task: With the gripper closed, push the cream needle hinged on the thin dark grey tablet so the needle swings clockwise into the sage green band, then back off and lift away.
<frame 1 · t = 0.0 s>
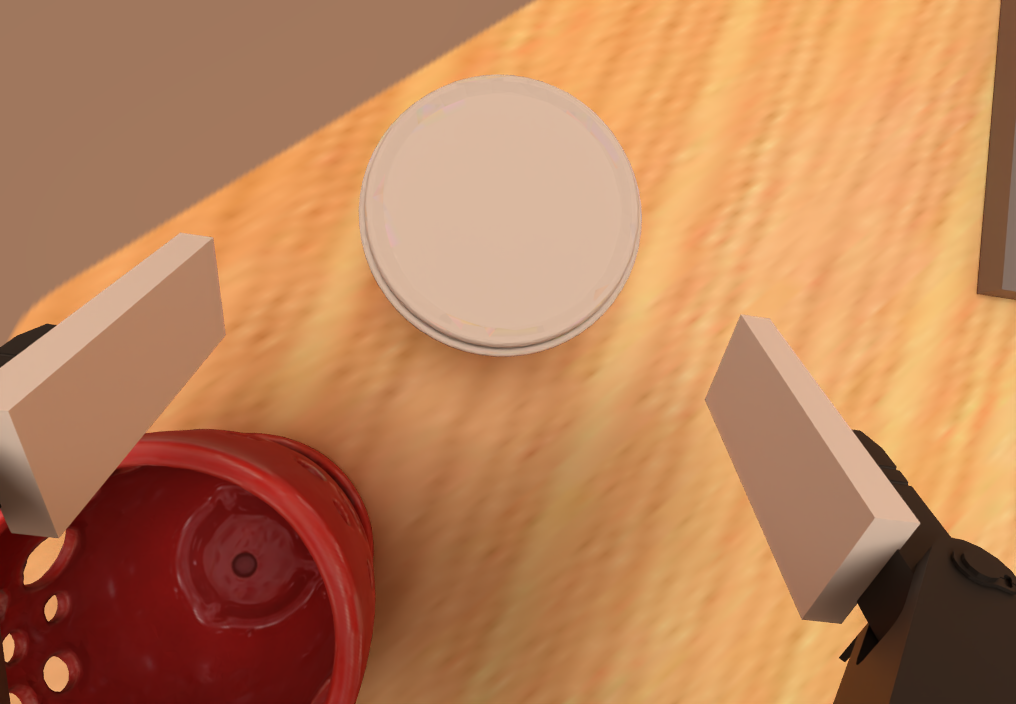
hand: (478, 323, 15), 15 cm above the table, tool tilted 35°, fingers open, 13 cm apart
coffee cup: (488, 277, 31), on the table
plant pot: (269, 546, 29), on the table
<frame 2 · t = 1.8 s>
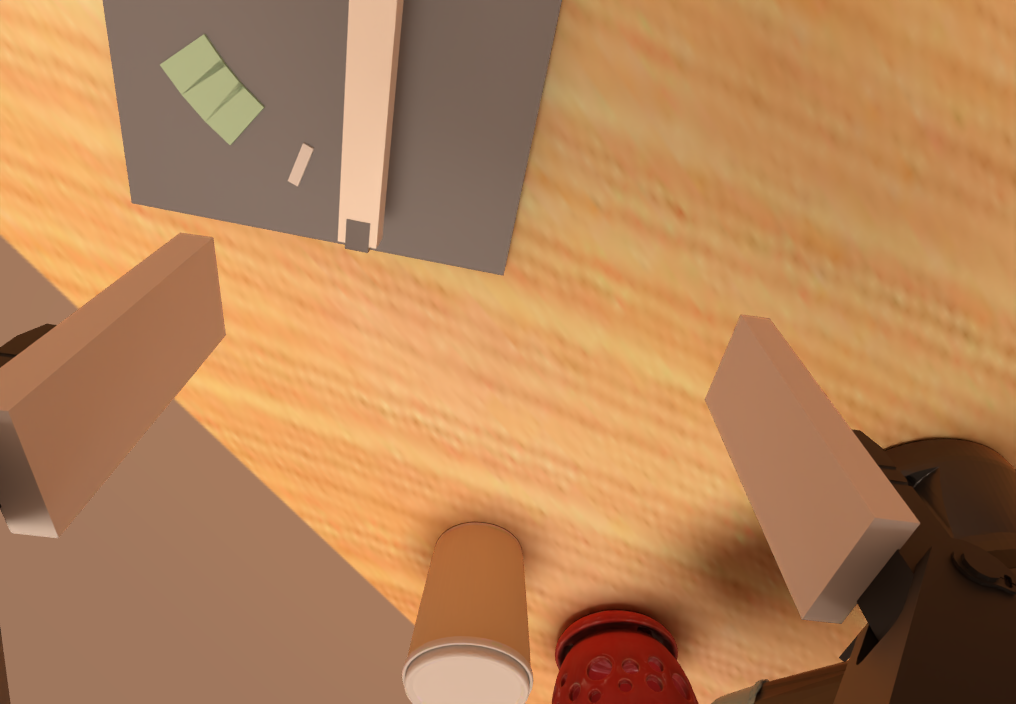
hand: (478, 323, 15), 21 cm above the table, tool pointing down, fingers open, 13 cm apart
coffee cup: (478, 550, 51), on the table
thin dark grey tablet: (335, 74, 31), on the table
tuner needle: (371, 85, 27), point 5 cm above the table, hinge at 0.0°
plant pot: (613, 634, 57), on the table
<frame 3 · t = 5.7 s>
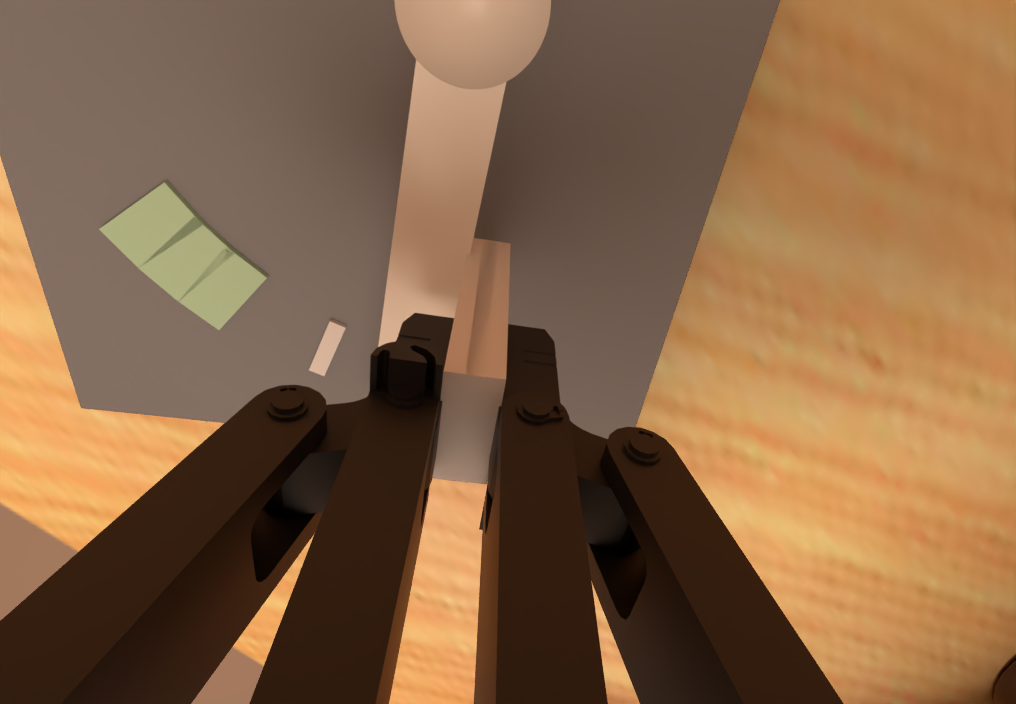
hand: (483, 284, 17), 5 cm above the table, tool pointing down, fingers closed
thin dark grey tablet: (373, 214, 20), on the table
tuner needle: (429, 265, 16), point 5 cm above the table, hinge at 5.0°, touching gripper
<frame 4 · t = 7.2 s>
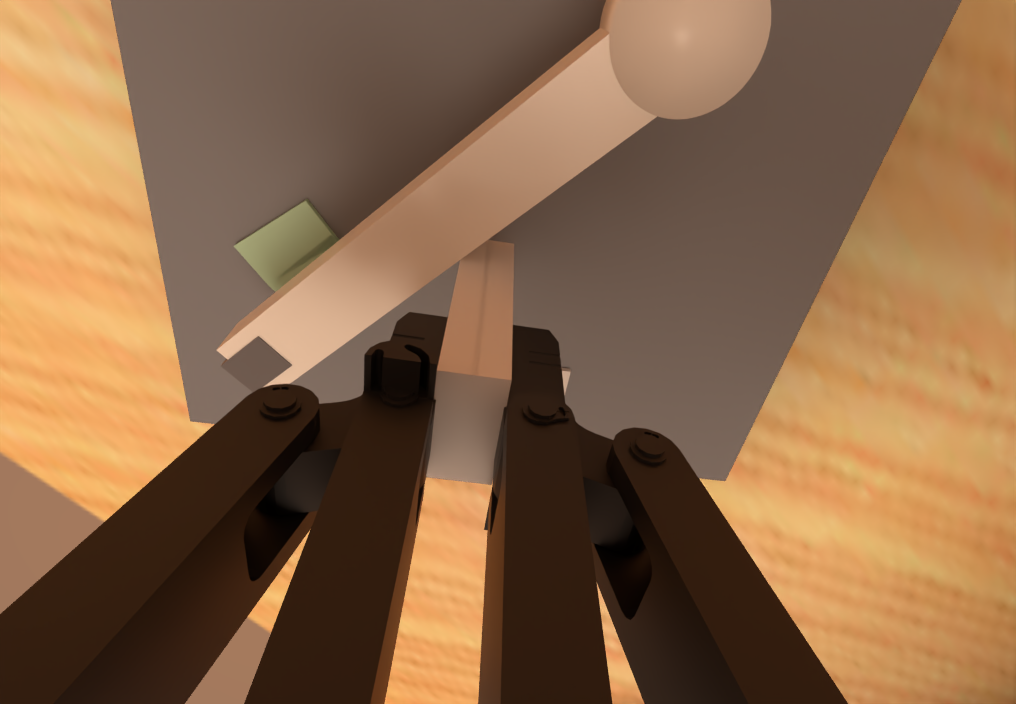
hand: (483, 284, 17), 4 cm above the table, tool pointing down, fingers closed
thin dark grey tablet: (498, 232, 20), on the table
tuner needle: (453, 206, 15), point 5 cm above the table, hinge at 44.2°, touching gripper
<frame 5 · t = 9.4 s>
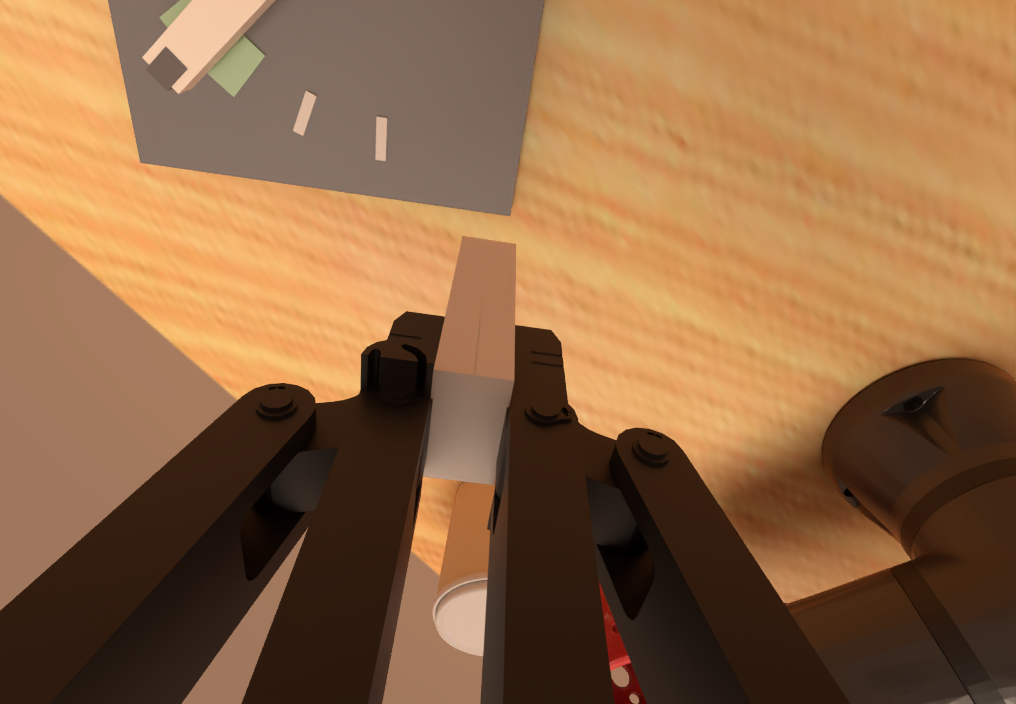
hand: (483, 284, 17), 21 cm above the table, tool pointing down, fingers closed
coffee cup: (498, 497, 53), on the table
thin dark grey tablet: (333, 18, 31), on the table
plant pot: (632, 573, 59), on the table
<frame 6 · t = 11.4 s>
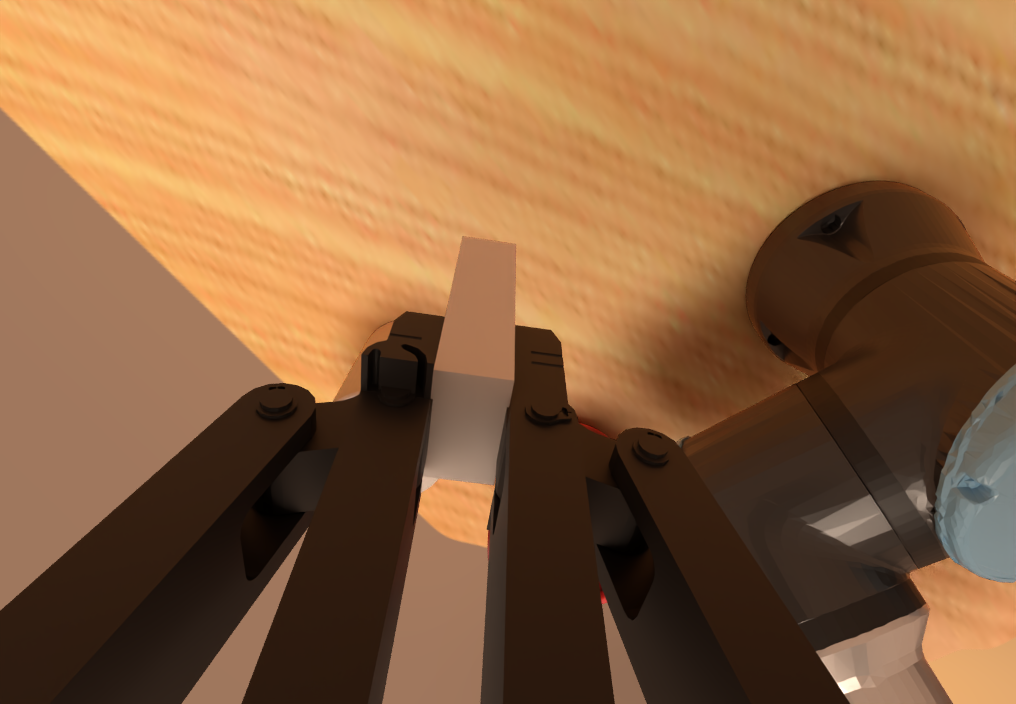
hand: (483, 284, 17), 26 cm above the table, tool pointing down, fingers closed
coffee cup: (410, 356, 50), on the table
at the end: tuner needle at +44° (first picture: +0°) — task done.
